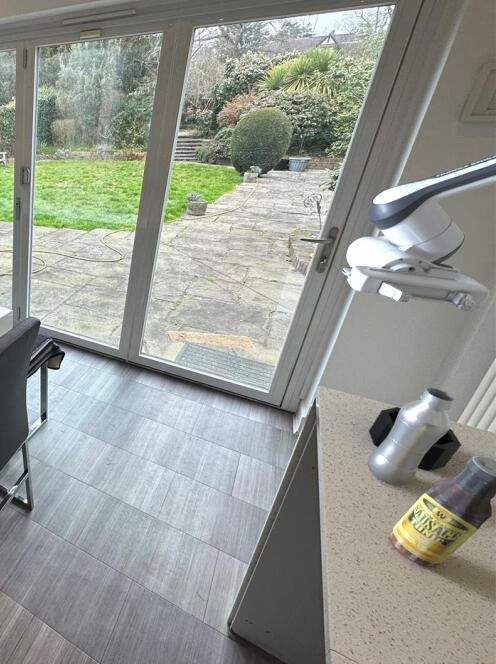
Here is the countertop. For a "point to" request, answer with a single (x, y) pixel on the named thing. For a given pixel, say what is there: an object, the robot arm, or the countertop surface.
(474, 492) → the sauce bottle
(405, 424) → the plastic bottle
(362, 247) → the robot arm
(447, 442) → the bowl
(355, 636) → the countertop surface
